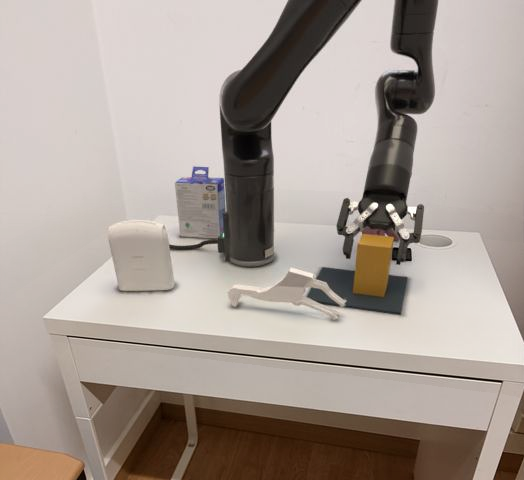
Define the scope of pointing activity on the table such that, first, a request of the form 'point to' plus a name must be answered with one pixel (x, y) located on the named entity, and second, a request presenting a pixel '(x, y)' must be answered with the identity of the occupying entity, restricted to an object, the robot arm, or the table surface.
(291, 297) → the llama figurine
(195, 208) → the ink cartridge box
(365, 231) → the video game controller
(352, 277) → the mat
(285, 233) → the table surface
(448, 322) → the table surface
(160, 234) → the photo printer
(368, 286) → the block
